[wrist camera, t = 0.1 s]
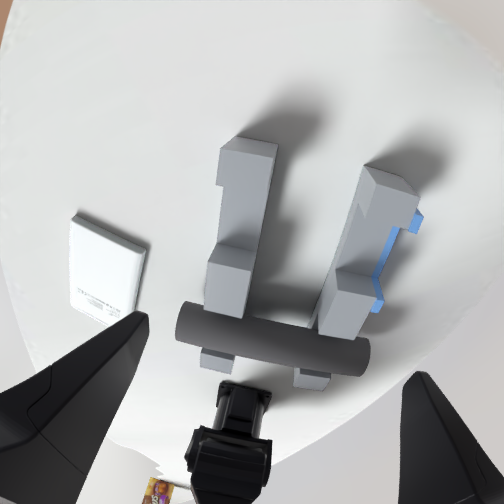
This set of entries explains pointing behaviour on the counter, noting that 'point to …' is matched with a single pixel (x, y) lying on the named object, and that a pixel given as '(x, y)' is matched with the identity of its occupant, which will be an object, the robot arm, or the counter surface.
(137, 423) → the counter surface
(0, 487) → the robot arm
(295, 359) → the dark grey cylinder
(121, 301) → the external hard drive
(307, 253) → the counter surface
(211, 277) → the grey blocky pieces
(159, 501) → the candy box
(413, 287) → the counter surface
